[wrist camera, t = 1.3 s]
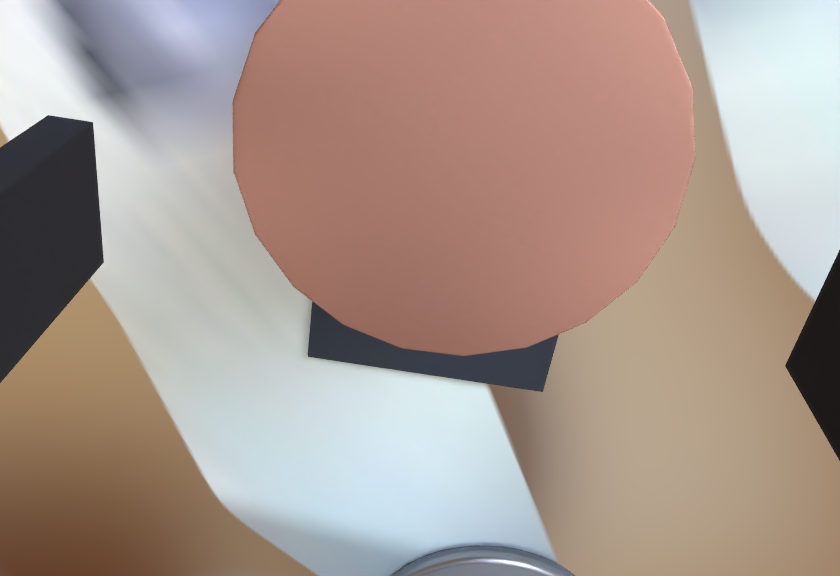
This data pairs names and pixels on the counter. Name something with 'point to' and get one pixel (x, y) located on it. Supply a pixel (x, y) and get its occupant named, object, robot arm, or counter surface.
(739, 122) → the counter surface
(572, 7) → the coffee jar
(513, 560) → the robot arm
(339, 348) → the mat
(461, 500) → the counter surface
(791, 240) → the counter surface
